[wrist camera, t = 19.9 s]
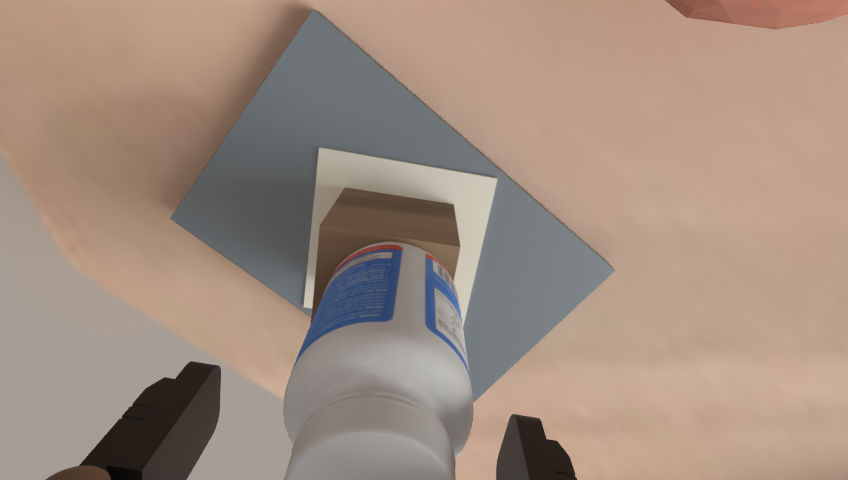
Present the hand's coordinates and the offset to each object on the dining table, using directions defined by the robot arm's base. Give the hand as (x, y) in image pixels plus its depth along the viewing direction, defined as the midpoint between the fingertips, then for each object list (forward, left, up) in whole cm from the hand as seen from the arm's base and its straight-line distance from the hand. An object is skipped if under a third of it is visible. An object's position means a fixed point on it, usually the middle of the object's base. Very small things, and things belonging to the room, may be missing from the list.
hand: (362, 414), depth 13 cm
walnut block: (0, 0, -13) cm, 13 cm away
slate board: (0, 0, -15) cm, 15 cm away
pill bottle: (0, 0, -7) cm, 7 cm away
